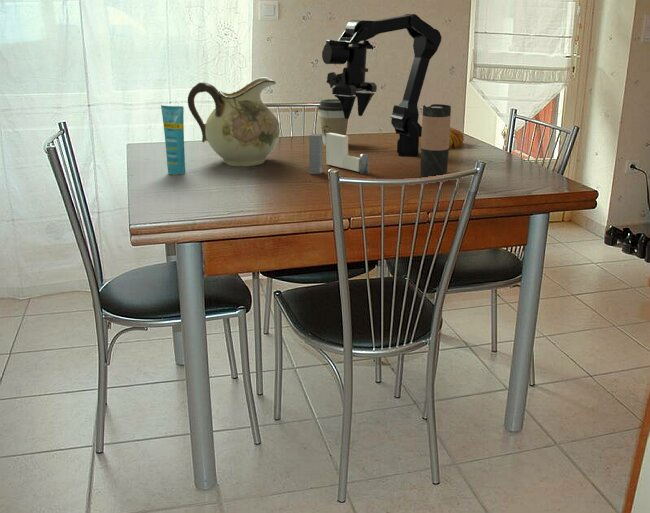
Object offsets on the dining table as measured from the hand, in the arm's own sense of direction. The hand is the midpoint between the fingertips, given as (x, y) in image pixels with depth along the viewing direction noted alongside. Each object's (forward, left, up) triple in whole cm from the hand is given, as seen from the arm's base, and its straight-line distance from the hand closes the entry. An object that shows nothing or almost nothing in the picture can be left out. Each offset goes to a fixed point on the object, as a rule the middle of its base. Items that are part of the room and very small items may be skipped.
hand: (353, 117), depth 220 cm
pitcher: (+34, +6, -14) cm, 37 cm away
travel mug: (-23, +23, -14) cm, 35 cm away
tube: (+50, +22, -14) cm, 56 cm away
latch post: (+10, +18, -13) cm, 25 cm away
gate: (+2, +12, -13) cm, 18 cm away
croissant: (-29, -28, -14) cm, 43 cm away
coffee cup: (+8, -25, -14) cm, 30 cm away
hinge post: (-4, +18, -13) cm, 23 cm away
